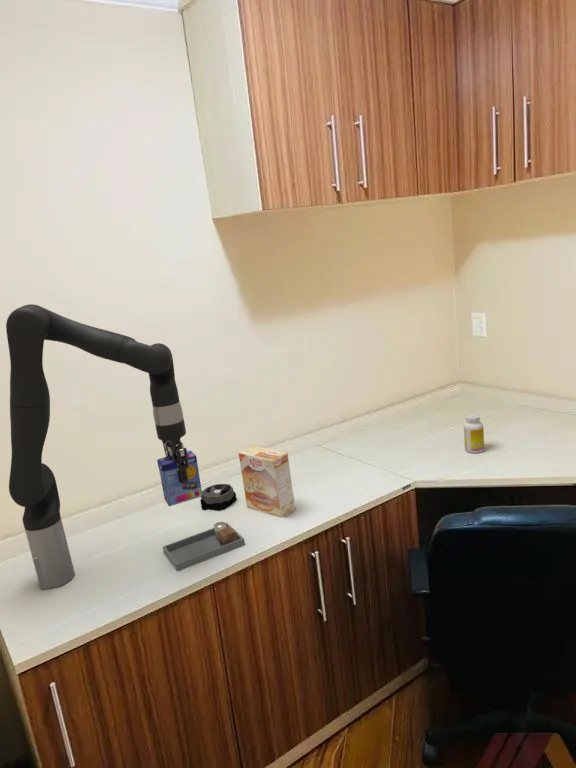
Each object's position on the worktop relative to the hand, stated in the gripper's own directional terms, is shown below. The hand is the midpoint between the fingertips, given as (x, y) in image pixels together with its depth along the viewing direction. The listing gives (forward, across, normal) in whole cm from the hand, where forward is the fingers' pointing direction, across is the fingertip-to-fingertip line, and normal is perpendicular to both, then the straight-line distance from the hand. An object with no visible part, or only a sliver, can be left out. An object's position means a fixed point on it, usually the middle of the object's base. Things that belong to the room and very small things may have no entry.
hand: (180, 478), depth 159 cm
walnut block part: (+23, -3, -10) cm, 25 cm away
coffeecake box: (+23, +9, -29) cm, 38 cm away
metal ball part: (+23, +2, -10) cm, 25 cm away
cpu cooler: (+24, +24, -18) cm, 38 cm away
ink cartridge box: (+6, 0, 0) cm, 6 cm away
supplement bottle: (+23, -2, -106) cm, 109 cm away
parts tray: (+23, 0, -3) cm, 23 cm away
